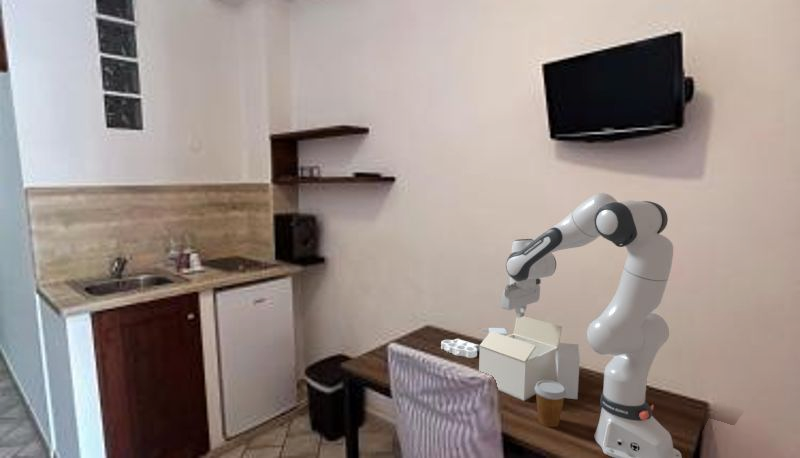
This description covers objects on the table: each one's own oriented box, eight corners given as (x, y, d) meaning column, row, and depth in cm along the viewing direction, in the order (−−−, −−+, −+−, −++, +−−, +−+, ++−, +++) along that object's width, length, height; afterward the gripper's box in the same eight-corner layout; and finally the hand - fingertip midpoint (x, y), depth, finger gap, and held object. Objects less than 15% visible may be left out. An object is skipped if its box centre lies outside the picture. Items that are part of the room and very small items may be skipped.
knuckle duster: (486, 352, 203) (468, 361, 192) (453, 342, 215) (435, 350, 204) (486, 345, 203) (468, 354, 192) (453, 335, 214) (435, 343, 204)
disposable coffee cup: (540, 411, 151) (541, 377, 149) (568, 421, 144) (570, 385, 143) (528, 423, 143) (529, 387, 142) (557, 433, 137) (559, 396, 136)
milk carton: (577, 399, 159) (580, 348, 157) (556, 397, 160) (559, 346, 158) (573, 390, 166) (576, 341, 164) (553, 388, 167) (556, 339, 165)
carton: (556, 382, 172) (557, 347, 170) (523, 400, 157) (525, 362, 156) (511, 366, 187) (513, 333, 185) (478, 381, 172) (479, 346, 171)
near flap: (536, 346, 160) (536, 345, 160) (525, 362, 156) (524, 361, 156) (491, 332, 175) (490, 331, 175) (479, 346, 171) (479, 345, 170)
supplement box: (504, 355, 198) (505, 327, 197) (506, 362, 191) (507, 333, 189) (487, 354, 199) (488, 327, 197) (489, 361, 192) (490, 332, 190)
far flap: (557, 347, 171) (558, 347, 171) (561, 326, 171) (562, 326, 171) (513, 333, 185) (514, 333, 186) (516, 314, 186) (517, 314, 186)
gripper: (512, 287, 159) (511, 324, 160) (543, 278, 172) (541, 313, 174) (498, 283, 163) (496, 320, 165) (529, 275, 177) (527, 309, 178)
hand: (520, 316), depth 169 cm, fingers closed
